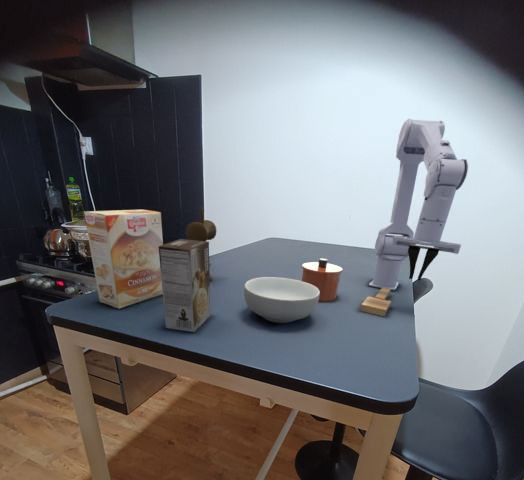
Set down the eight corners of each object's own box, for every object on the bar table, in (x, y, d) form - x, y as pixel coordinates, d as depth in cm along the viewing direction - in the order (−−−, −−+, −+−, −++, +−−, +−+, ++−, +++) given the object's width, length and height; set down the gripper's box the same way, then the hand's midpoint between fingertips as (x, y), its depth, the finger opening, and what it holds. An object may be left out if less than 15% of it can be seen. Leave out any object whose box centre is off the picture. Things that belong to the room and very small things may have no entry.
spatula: (374, 292, 95) (375, 286, 94) (395, 296, 93) (397, 290, 92) (360, 311, 80) (361, 303, 79) (384, 316, 78) (386, 308, 77)
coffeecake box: (119, 309, 70) (104, 214, 61) (98, 302, 73) (81, 210, 64) (168, 293, 82) (162, 211, 73) (148, 287, 85) (140, 208, 76)
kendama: (187, 283, 91) (184, 207, 81) (199, 274, 99) (197, 205, 90) (207, 285, 90) (206, 209, 81) (217, 277, 98) (218, 207, 89)
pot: (307, 287, 95) (311, 262, 91) (340, 294, 91) (345, 268, 87) (294, 296, 87) (297, 268, 83) (329, 304, 83) (334, 275, 79)
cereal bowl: (305, 338, 64) (310, 304, 60) (230, 322, 68) (231, 290, 65) (321, 311, 78) (326, 283, 75) (258, 299, 82) (260, 272, 79)
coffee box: (183, 312, 71) (179, 238, 64) (210, 316, 70) (210, 241, 63) (164, 328, 63) (157, 245, 56) (194, 333, 62) (191, 249, 55)
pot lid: (309, 264, 92) (311, 253, 91) (346, 270, 88) (348, 259, 86) (295, 271, 83) (296, 259, 82) (335, 278, 79) (337, 266, 78)
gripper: (396, 217, 72) (382, 276, 78) (469, 225, 66) (447, 288, 73) (400, 216, 77) (386, 271, 84) (467, 223, 72) (447, 281, 78)
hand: (414, 278), depth 79 cm, fingers closed
